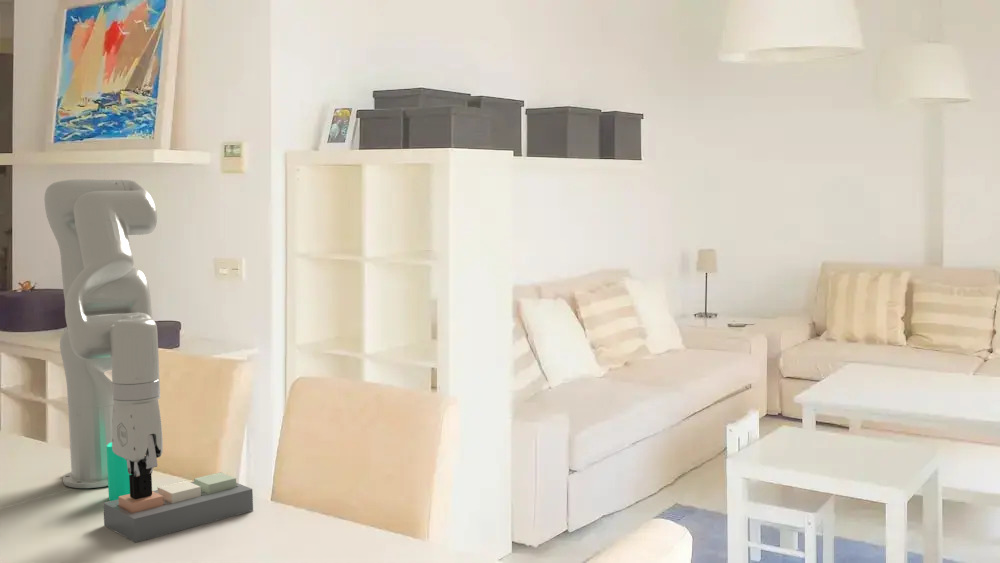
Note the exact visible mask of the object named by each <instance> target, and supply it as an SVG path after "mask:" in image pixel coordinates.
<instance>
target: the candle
mask: <svg viewBox="0 0 1000 563" xmlns="http://www.w3.org/2000/svg"><path fill="white" fill-rule="evenodd" d="M106 450H107V471H108V486H107V492H108V500H109V501H113V500H117V499H119V496H123V495H127V494H130V483H129V475H132V474H129V473H128V468H127V461H126V460H125V459H124V458H122V457H120V456H118V455H116V454H115V453H114V452H113V450H112V442H111V443H109V444H108V445H107V446H106Z"/></svg>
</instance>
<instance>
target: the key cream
mask: <svg viewBox="0 0 1000 563" xmlns="http://www.w3.org/2000/svg"><path fill="white" fill-rule="evenodd" d="M191 482H192V481H188V480H183V481H179V482H178V481H177V482H174V483H169V484H164V485H161V486H157V489H156V490H158V494H160V495H162V496H163V500H165V501H167V502H169V503H175V502H180V501H184V500H188V499H192V498H196V497H200V496H201V487H200V486H198V485H195V484H193V483H191Z"/></svg>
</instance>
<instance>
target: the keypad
mask: <svg viewBox="0 0 1000 563" xmlns="http://www.w3.org/2000/svg"><path fill="white" fill-rule="evenodd" d="M190 482H191V483H193V484H194V481H190ZM152 491H153V492H155V493H158V489H156V490H152ZM253 495H254V494H253V488H251V487H249V486H245V485H243V484H241V483H238V482H236V488H232V489H228V490H224V491H220V492H216V493H212V494H207V493H205V492H202V491H201V496H200V497H196V498H192V499H188V500H184V501H180V502H175V503H169V502H167V501H165V500H163V504H164V505H163V506H159V507H155V508H151V509H147V510H143V511H139V512H135V513H131V512H129V511H127V510H125V509H123V508H121V507H119V499H117V500H113V501H110V500H109V501H105V502H103V503H102V504H103V505H102V506H103V524H104V525H103V526H104V527H107V528H108V529H110V530H112V531H114V532H116V533H118V534H120V535H121V536H123V537H125V538H126V539H129V540H130V541H132V542H133V543H139V542H142V541H147V540H150V539H153V538H158V537H161V536H163V535H168V534H171V533H174V532H175V533H176V532H179V531H182V530H187V529H190V528H194V527H198V526H201V525H205V524H209V523H212V522H216V521H219V520H224V519H227V518H231V517H235V516H237V515H241V514H245V513H249V512H252V511H254V503H253V502H254V500H253V499H254V497H253Z"/></svg>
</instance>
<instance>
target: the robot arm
mask: <svg viewBox="0 0 1000 563" xmlns="http://www.w3.org/2000/svg"><path fill="white" fill-rule="evenodd" d="M44 210H45V214H46V218H47V223H48V224H49V226H50V228H51V232H52V233H53V236H54V237H55V240H56V242H57V245H58V248H59V253H60V265H61V276H62V278H61V279H62V288H63V289H62V290H63V297H64V298H63V299H64V317H65V322H66V328H67V329H66V330H65V331H64V332H63V333H62V335H61V336H60V341H59V348H60V355H61V360H62V365H63V368H64V375H65V382H66V383H65V384H66V393H67V408H68V409H67V410H68V425H69V426H68V427H69V428H68V429H69V449H70V452H69V453H70V469H71V471H70V472H68V473H66V474H65V475H64V476H63V478H62V481H63V485H64V486H66V487H69V488H74V489H97V488H103V487H104V488H105V487H108V471H107V450H106V446H107V445H108V444H109V443H111V442H112V450H113V452H114V453H115V454H116V455H118V456H120V457H122V458H124V459H125V460H126V461H127V468H128V473H129V474H132V475H129V483H130V497H131V498H134V499H140V498H144V497H148V496H151V495H152V491H153V484H152V483H153V480H152V474H153V469H154V468H158V459H157V458H160V457H161V456H162V455H163V453H164V452H163V451H164V448H163V447H164V445H163V444H164V443H163V442H164V441H163V439H164V438H163V428H162V426H163V425H162V417H161V410H160V404H159V400H160V399H161V384H160V383H161V382H160V359H159V340H158V338H159V336H158V326H157V323H156V321H154V320H153V312H152V301H151V292H150V291H151V290H150V286H149V281H148V279H147V277H146V275H145V273H144V272H143V271H142V270H140V269H138V268H135V267H134V263H135V262H134V256H133V253H132V248H131V243H130V239H129V236H143V235H149V234H151V233H153V232H154V230H155V229H156V227H157V223H158V214H157V213H158V212H157V207H156V204H155V201H154V199H153V198H152V196H151V193H149V192H148V191H147V189H145V188H144V187H143V186H142V185H140V184H139V183H138V182H137V181H135V180H130V179H87V178H86V179H85V178H84V179H83V178H82V179H67V180H59V181H56V182H53V183H51V184H49V185H48V187H46V189H45V192H44ZM106 371H111V379H110V378H109V377H108V376H107V375H106V374H105V372H106Z"/></svg>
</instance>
